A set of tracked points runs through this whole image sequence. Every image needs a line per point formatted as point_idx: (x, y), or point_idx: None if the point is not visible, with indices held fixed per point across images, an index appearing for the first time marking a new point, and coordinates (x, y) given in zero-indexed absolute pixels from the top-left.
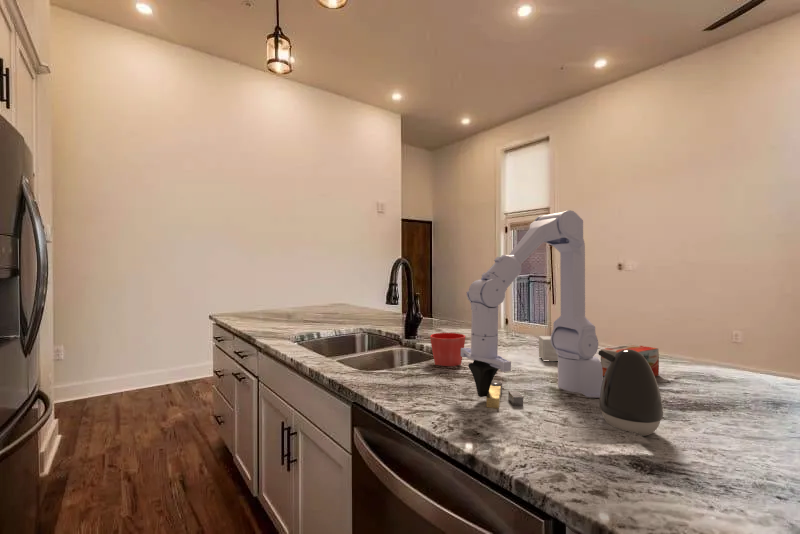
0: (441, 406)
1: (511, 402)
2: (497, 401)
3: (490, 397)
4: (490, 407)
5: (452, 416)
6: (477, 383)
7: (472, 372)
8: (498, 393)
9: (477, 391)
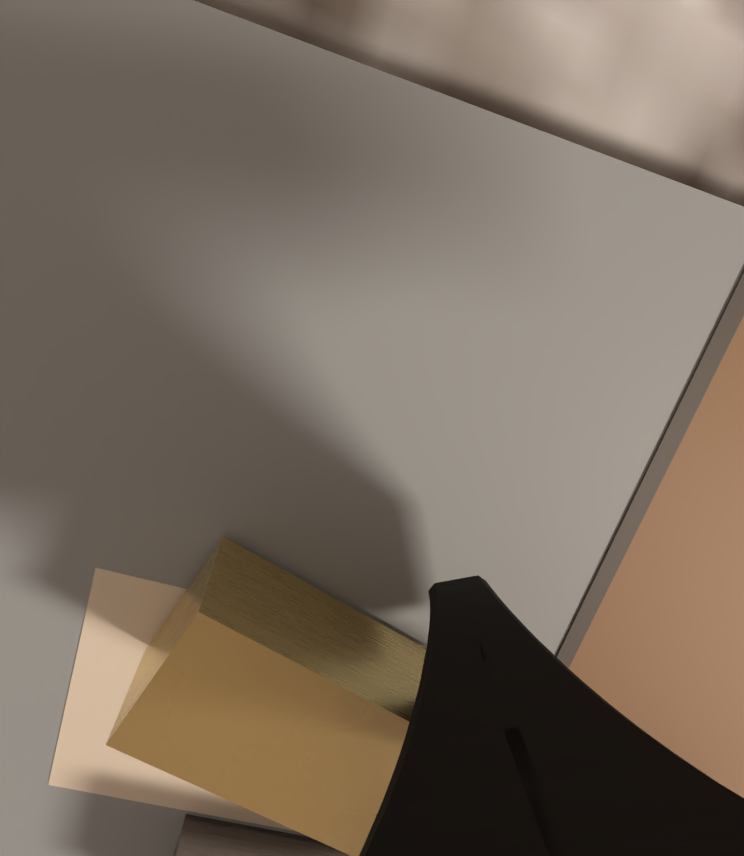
0: (666, 22)
1: (269, 844)
2: (129, 701)
3: (188, 667)
4: (196, 575)
5: (261, 11)
6: (501, 696)
7: (741, 843)
8: (324, 829)
9: (492, 603)
